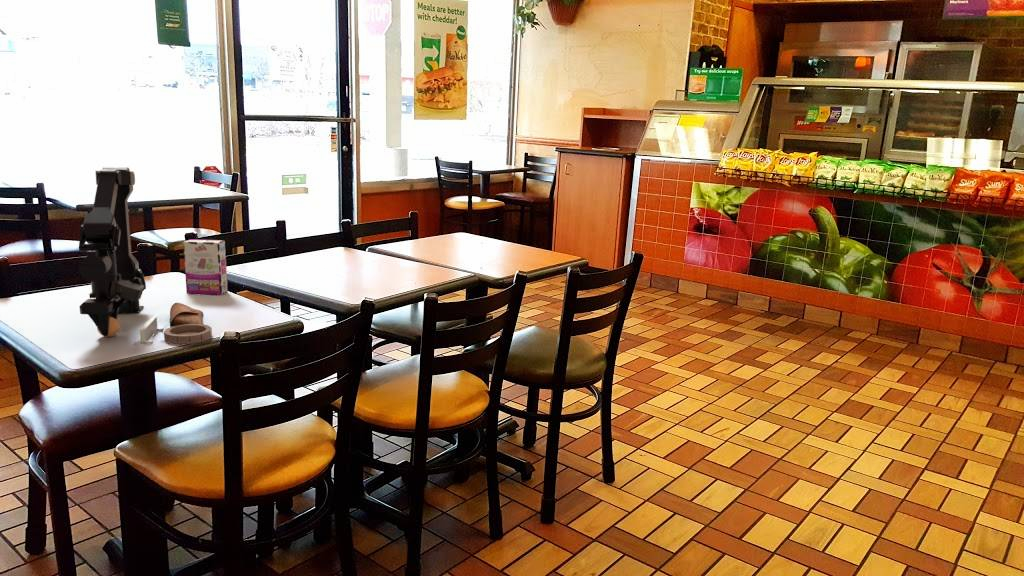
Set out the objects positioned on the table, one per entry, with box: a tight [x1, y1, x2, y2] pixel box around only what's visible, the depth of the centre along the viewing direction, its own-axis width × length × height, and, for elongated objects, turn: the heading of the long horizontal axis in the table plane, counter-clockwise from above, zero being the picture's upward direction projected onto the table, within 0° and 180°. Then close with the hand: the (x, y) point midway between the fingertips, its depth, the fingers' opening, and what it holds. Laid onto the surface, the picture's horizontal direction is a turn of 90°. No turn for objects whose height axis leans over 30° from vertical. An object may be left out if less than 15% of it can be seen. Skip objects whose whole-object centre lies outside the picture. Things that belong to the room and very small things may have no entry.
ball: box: [96, 317, 121, 338], centre depth 188 cm, size 5×5×5 cm
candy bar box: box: [182, 239, 229, 296], centre depth 231 cm, size 11×5×16 cm, turn 88°
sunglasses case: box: [169, 302, 204, 328], centre depth 201 cm, size 18×7×7 cm
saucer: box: [163, 323, 213, 345], centre depth 189 cm, size 11×11×2 cm
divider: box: [133, 316, 165, 345], centre depth 189 cm, size 12×4×4 cm, turn 11°
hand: (108, 332), depth 188 cm, fingers closed on ball, 5 cm apart
